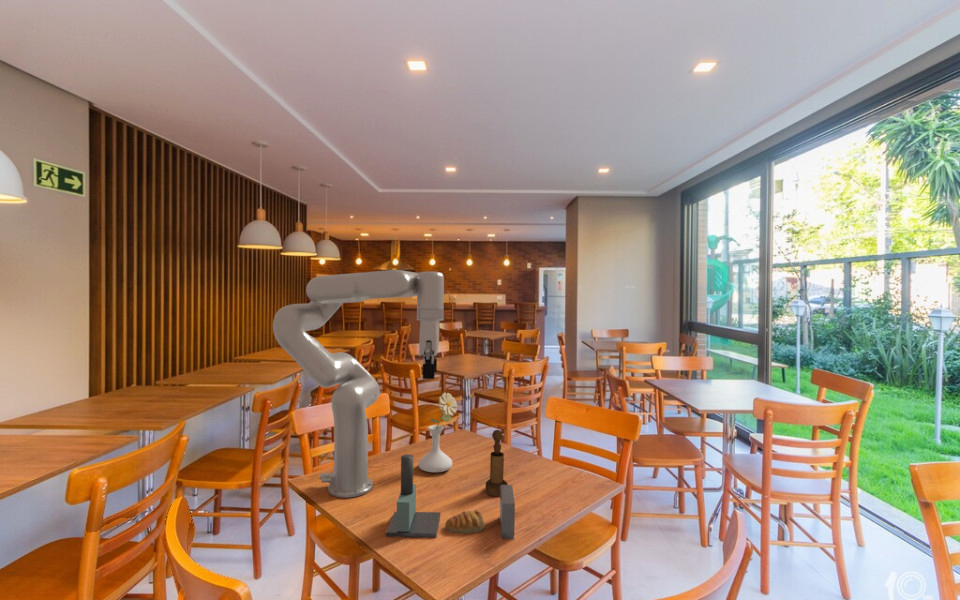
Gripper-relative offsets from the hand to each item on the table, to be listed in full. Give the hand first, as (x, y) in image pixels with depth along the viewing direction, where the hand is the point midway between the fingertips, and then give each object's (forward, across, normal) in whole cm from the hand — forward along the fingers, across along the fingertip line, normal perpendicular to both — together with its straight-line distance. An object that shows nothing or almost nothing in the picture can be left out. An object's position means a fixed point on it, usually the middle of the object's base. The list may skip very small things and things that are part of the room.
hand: (429, 375), depth 124 cm
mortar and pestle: (+35, -3, +20) cm, 40 cm away
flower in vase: (+35, -20, +1) cm, 40 cm away
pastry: (+35, +17, +11) cm, 40 cm away
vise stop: (+35, +17, +21) cm, 44 cm away
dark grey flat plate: (+35, +16, -2) cm, 38 cm away
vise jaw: (+33, +16, -4) cm, 37 cm away
